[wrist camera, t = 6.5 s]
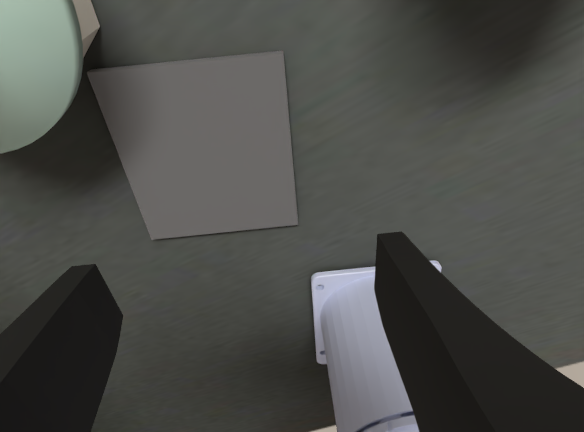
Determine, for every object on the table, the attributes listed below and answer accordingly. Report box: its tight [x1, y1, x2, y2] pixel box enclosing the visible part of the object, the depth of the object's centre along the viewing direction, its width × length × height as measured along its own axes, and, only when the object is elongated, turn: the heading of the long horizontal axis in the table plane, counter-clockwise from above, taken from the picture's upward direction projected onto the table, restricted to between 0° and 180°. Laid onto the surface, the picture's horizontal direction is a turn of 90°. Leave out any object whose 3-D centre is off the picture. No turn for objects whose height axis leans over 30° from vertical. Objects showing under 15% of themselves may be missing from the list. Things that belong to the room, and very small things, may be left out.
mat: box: [87, 50, 298, 240], centre depth 19 cm, size 9×8×1 cm
